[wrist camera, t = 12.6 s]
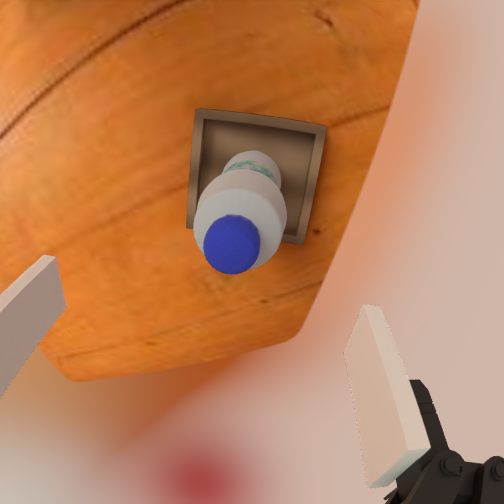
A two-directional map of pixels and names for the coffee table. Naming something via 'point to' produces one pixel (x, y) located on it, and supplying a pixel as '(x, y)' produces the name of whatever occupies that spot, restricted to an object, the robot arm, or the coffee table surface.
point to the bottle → (241, 214)
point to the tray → (268, 142)
